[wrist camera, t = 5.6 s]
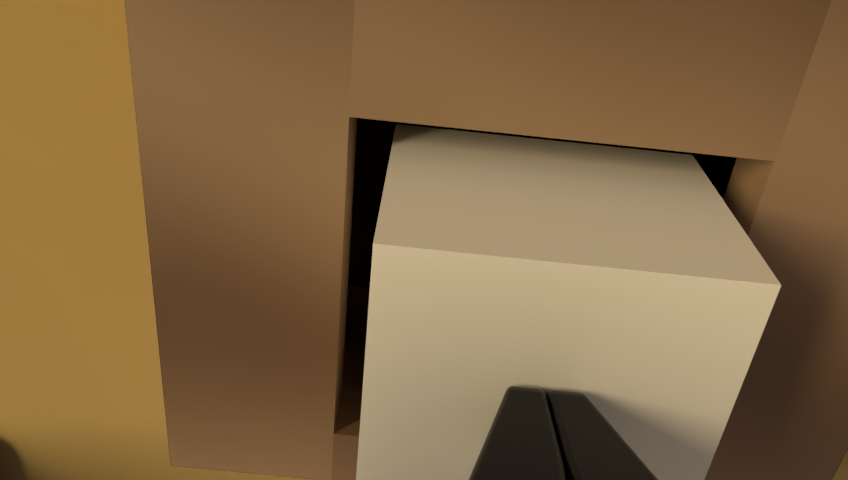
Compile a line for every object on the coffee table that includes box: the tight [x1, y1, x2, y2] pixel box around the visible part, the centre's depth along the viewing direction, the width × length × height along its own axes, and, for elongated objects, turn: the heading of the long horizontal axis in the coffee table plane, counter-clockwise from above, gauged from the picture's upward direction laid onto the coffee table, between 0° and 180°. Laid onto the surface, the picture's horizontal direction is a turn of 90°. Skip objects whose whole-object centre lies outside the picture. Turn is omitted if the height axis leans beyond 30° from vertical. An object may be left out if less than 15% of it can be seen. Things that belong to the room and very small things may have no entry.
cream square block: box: [356, 124, 781, 480], centre depth 10 cm, size 4×4×3 cm
